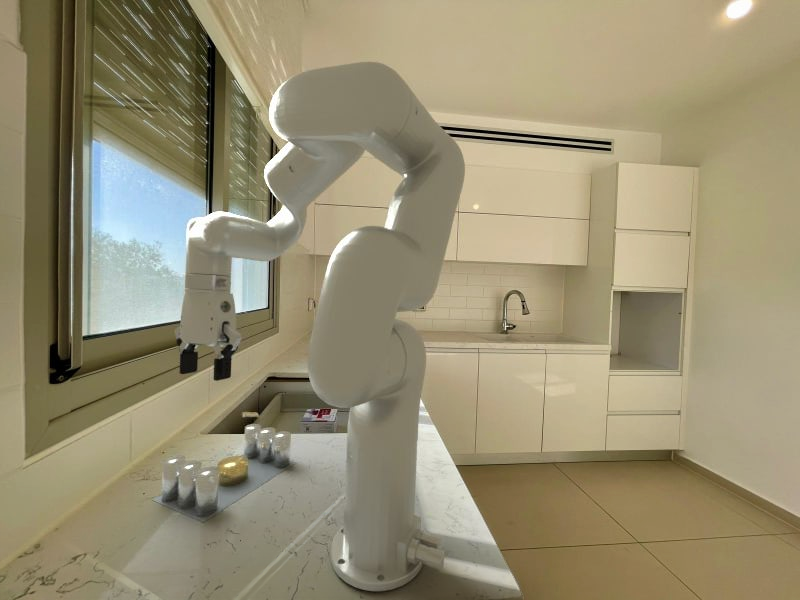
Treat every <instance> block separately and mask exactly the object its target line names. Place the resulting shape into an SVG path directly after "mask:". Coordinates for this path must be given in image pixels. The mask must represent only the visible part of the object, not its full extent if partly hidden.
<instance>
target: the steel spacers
mask: <svg viewBox="0 0 800 600" xmlns="http://www.w3.org/2000/svg"><path fill="white" fill-rule="evenodd" d="M291 436H292V432H291V431H288V430H286V431H285V430H281V431H279V432H277V431H276V428H275V427H272V426H271V427H263V428H262V425H261V424H260V423H251V424H247V425H246V426H244V443H243V446H244V447H243V454H244V457H247V458H248V459H253V458H256V457H258V456H259V458H258V462H259V463H270V462H272V461H273V460H274V467H275V468H285V467H287V466H289V464H290V461H291V441H292V440H291V439H292V437H291ZM202 463H203V462H201V461H199V460H190V461H187V462H186V456H184V455H177V454H176V455H173V456H168V457H167V458H165V459H163V461H162V477H161V495H162V497H161V500H162V501H163V502H172V501H175V500H178V508H179V509H189V508H192V507H195V515H196V516H198V517H205V516H209V515H211V514H213V513H215V512H216V511H217V509H218V486H219V468H218V467H217V466H206V467H203V466H202ZM202 467H203V468H202Z"/></svg>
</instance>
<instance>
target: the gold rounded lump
mask: <svg viewBox="0 0 800 600" xmlns="http://www.w3.org/2000/svg"><path fill="white" fill-rule="evenodd" d="M216 467H218V468H219V486H223V487H230V486H235V485H238V484H241V483H242V482H244V481H245V480H246V479H247V478H248V458H247V457H244V456H241V455H232V456H228V457H225V458H223V459H221V460H219V462H217V466H216Z"/></svg>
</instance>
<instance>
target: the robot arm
mask: <svg viewBox="0 0 800 600" xmlns="http://www.w3.org/2000/svg"><path fill="white" fill-rule="evenodd" d="M268 118H269V122H270V124H271V127H272V129H273V131H274V132H275V133H276V134H277V135H278V136H279V137H280V138H281V139H283V140H285V141H286V142H287V143H286V144H285V146H283V147H282V149H281V150H280V151H279V152H277V154H276V155H275V156H273V158H272V159H271V160H270V161H269V162H267V164H266V165H265V168H264V173H263V175H264V180H265V183H266V185H267V187H268V188H269V191H270V192H271V193H272V194H273V196H274V197H275V199H277V200H278V201H279V202H280V204H281V205H282V207H281V209H280V211H278V212H277V214H276V215H275V216H274V217H272V219H270V220H269V221H268V222H264V221H260V220H257V219H253V218H249V217H246V216H242V215H241V216H240V215H237V214H233V213H231V212H225V211H215V212H212V213H210V214H208V215H206V216H205V217H195V218H191V219H190V220H189V221H188V223H187V226H186V227H187V228H186V249H185V251H186V253H185V277H184V279H185V280H184V296H183V301H182V307H181V311H180V312H181V315H180V325H178V326H177V327H176V328H175V329H174V330H173V332H174V335H175V339H176V345H177V346H178V349H177V351H178V353H179V374H180V375H187V374H193V373H196V372H198V366H199V365H198V363H199V361H198V360H199V351H196V350H197V349H198V346H205V347H212V349H213V351H214V353H215V355H216V356H215V357H216V358H214V360H213V380H214V381H216V382H219V381H222V380H226V379H230V378H231V377H232V358H233V357H235V353H236V352H237V351H238V349H239V345H240V343H241V341H242V339H243V336H242V335H241V333H240V332H239V331H238V330H237V318H236V317H237V315H236V304H235V297H234V294H233V293H231V290H232V289H231V285H232V265H233V264H232V262H233V261H232V260H233V258H235V259H243V260H249V261H255V262H256V261H257V262H270V261H273V260H275V259H277V258H279V257H280V256H282V255H283V254H285V252H287V250H289V249H290V248H291V247H293V246H294V245H295V244H296V243H297V242H298V240H299V239H300V238H301V237H302V236H301V235H302V234H303V231H304V230H305V225H306V223H307V217H308V207H309V206H310V205H311V204H312V203H313V202H314V201H315V200H316V199H317V198H319V197H320V196H321V195H322V194H323V193H324V192H325V191H326V190H327V189H328V188H330V187H331V186H332V185H333V184H334V183H335V182H336V181H338V179H340V178H341V176H343V175H344V174H346V172H347V171H348V170H350V169H351V168H352V167H353V166H354V165H355V164H356V163H357V162H358V161H359V160H360V159H361V157H363V155H364V154H365V151H366V152H367V153H369V154H370V155H371V156H373V157H374V158H375V159H377V160H378V161H380V162H381V163H383V164H384V165H385V166H386V167H388V168H389V169H391V171H394V172H396V173H397V174H398V175H399V176H401V177H402V178H403V180H401V182H400V183H399V185H398V186H397V187H396V189H395V191H394V193H393V195H392V197H391V199H390V201H389V205H388V211H387V216H386V219H385V223H384V226H381V225H365V226H362V227H358V228H356V229H354V230H352V231H350V232H349V233H348V234H347V235H345V236H344V237H343V238H342V239H341V240H340V241H339V243H338V244H337V245H336V247H335V249H334V250H333V252H332V254H331V256H330V258H329V260H328V263H327V266H326V270H325V274H324V278H323V282H322V285H321V291H320V296H319V300H318V304H317V309H316V314H315V318H314V323H313V326H312V332H311V336H310V341H309V345H308V351H307V352H308V353H307V374H308V377H309V382H310V385H311V388H312V389H313V392H314V393H315V394H316V395H317V397H318V398H320V400H322V401H323V402H324V403H326V404H327V405H329V406H332V407H336V408H341V409H342V408H345V409H348V408H349V413H348V419H347V420H348V422H347V430H346V431H347V433H346V434H347V435H346V453H345V454H346V456H345V458H346V459H345V483H344V485H345V486H344V506H343V507H344V509H343V510H344V511H343V525H342V526H341V527H340V528H339V530H338V531H337V532H336V533H335V534H334V536H333V539H332V541H331V546H330V562H331V566H332V568H333V570H334V572H335V573H336V575H337V576H338V577H339V578H340V579H341V580H343V581H344V582H345V583H346V584H348V585H350V586H351V587H354V588H357V589H360V590H363V591H368V592H385V591H391V590H394V589H397V588H400V587H403V586H404V585H406V584H407V583H409V582H411V581H412V580H413V579H414V578H415V577H416V576H417V575H418V574H419V572H420V571H421V569H422V568H423V565H426V566H427V567H430V568H432V569H435V570H437V571H441V572H442V570H443V567H444V564H445V563H444V562H445V551H443V550H441V549H440V545H441V538H440V537H438V536H436V535H431V534H428V533H424V532H425V531H424V530H422V529H421V527H422V517H421V516H418V515H415V511H416V508H415V507H416V486H417V485H416V484H417V482H416V481H417V462H418V461H417V460H418V459H417V457H418V439H419V421H420V420H419V419H420V409H421V407H420V406H421V400H422V399H421V397H422V393H423V392H422V391H423V386H424V385H423V384H424V381H425V380H424V379H425V374H426V367H427V352H426V351H427V350H426V347H425V346H426V345H425V342H424V340H423V338H422V336H421V334H420V333H419V332H418V330H417V329H416V328H415V327H414V326H413V325H411V324H410V323H408V322H406V321H405V320H401V319H398V318H396V316H397V314H398V312H400V313H403V312H404V313H405V312H412V311H416V310H420V309H421V308H423V307H425V306H426V305H428V304H429V303H430V301H431V300H432V299H433V298H434V295H435V293H436V290H437V288H438V285H439V280H440V275H441V271H442V268H443V265H444V260H445V258H446V257H445V256H446V253H447V248H448V245H449V241H450V237H451V233H452V228H453V225H454V224H453V223H454V220H455V216H456V215H455V214H456V211H457V208H458V204H459V201H460V196H461V194H462V190H463V187H464V181H465V175H466V164H465V159H464V155H463V151H462V150H461V148H460V146H459V144H458V143H457V141H455V139H453V138H452V136H451V135H450V134H449V133H448V132H446V131H445V130H444V129H443V127H442V126H440V124H439V123H437V121H436V120H435V119H434V118H433V116H432V115H431V114H430V112H429V111H428V110H427V108H426V107H425V106H424V105H423V104H422V103H421V101H420V100H419V98H418V97H417V96H416V94H415V92H413V91H412V89H411V88H410V86H409V85H408V84H407V83H406V81H405V80H404V78H403V77H402V76H400V74H399V73H398V72H397V71H396V70H394V69H393V68H392V67H390V66H389V65H388V64H387V65H386V64H384V63H381V62H378V61H361V62H360V61H359V62H352V63H345V64H339V65H332V66H326V67H321V68H314V69H310V70H306V71H305V70H304V71H303V72H301V73H297V74H296V75H295V74H294V75H293V76H291V77H290V78H288V79H287V80H286V81H284V82H283V83H282V84H280V86H279V87H278V89H277V90H276V92H275V93H274V95H273V97H272V99H271V101H270V106H269V117H268ZM222 348H223V349H222Z"/></svg>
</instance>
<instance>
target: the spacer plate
mask: <svg viewBox="0 0 800 600" xmlns="http://www.w3.org/2000/svg"><path fill="white" fill-rule="evenodd" d="M240 456H244V453H243V454H240ZM258 458H259V456H258V457H256V458H253V459H248V478H247V479H246V480H245V481H244V482H242V483H241V484H238V485H235V486H230V487H223V486H218V509H217V511H216V512H215V513H213V514H211V515H209V516H205V517H198V516H196V515H195V507H192V508H189V509H179V508H178V500H175V501H172V502H163V501H162V500H161V497H162V494H161V495H159V496H156V497H154V498H152V499H151V501H153V502H155V503H157V504H160V505H162V506H164V507H167V508H168V509H171V510H172V511H175V512H178V513H180V514H182V515H184V516H187V517H189V518H192V519H194V520H196V521H198V522H200V523H206V522H207V521H208V520H209V519H211V518H213V517H214V516H216V515H218V514H219V513H220V512H222V511H223V510H225V509H227V508H228V507H230V506H231V505H233V504H235V503H236V502H237V501H239V500H241V499H243V498H244V497H245V496H247V495H249V494H250V493H252V492H253V491H255V490H256V489H258V488H260V487H261V486H263V485H264V484H266V483H267V482H269V481H270V480H272V479H274V478H275V477H277V476H278V475H280V474H281V473H282V472H284V471H286V470H288V469H289V468H291V467H292V466H293V465H295V464H296V463H297V461H294V460H290V464H289V466H287V467H285V468H275V467H274V460H273V461H272V462H270V463H259V462H258Z"/></svg>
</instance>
